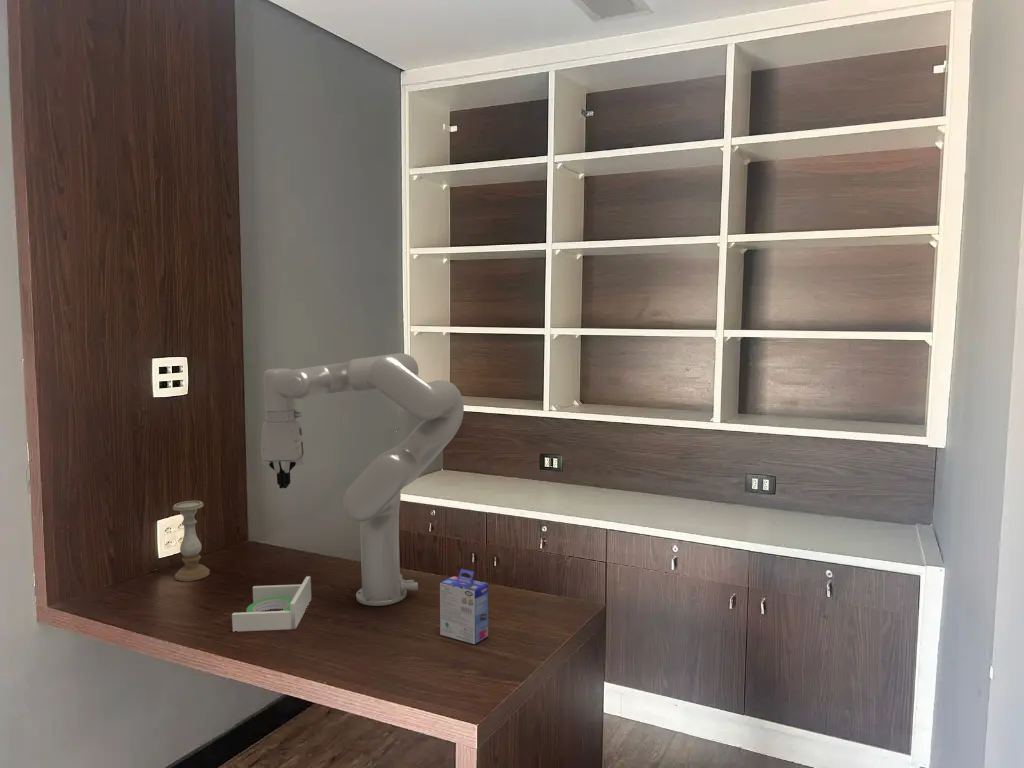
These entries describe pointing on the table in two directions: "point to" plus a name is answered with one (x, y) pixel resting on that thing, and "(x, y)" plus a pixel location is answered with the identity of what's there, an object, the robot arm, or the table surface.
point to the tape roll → (270, 604)
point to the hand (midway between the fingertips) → (284, 487)
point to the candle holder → (190, 543)
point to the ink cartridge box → (464, 608)
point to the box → (275, 618)
